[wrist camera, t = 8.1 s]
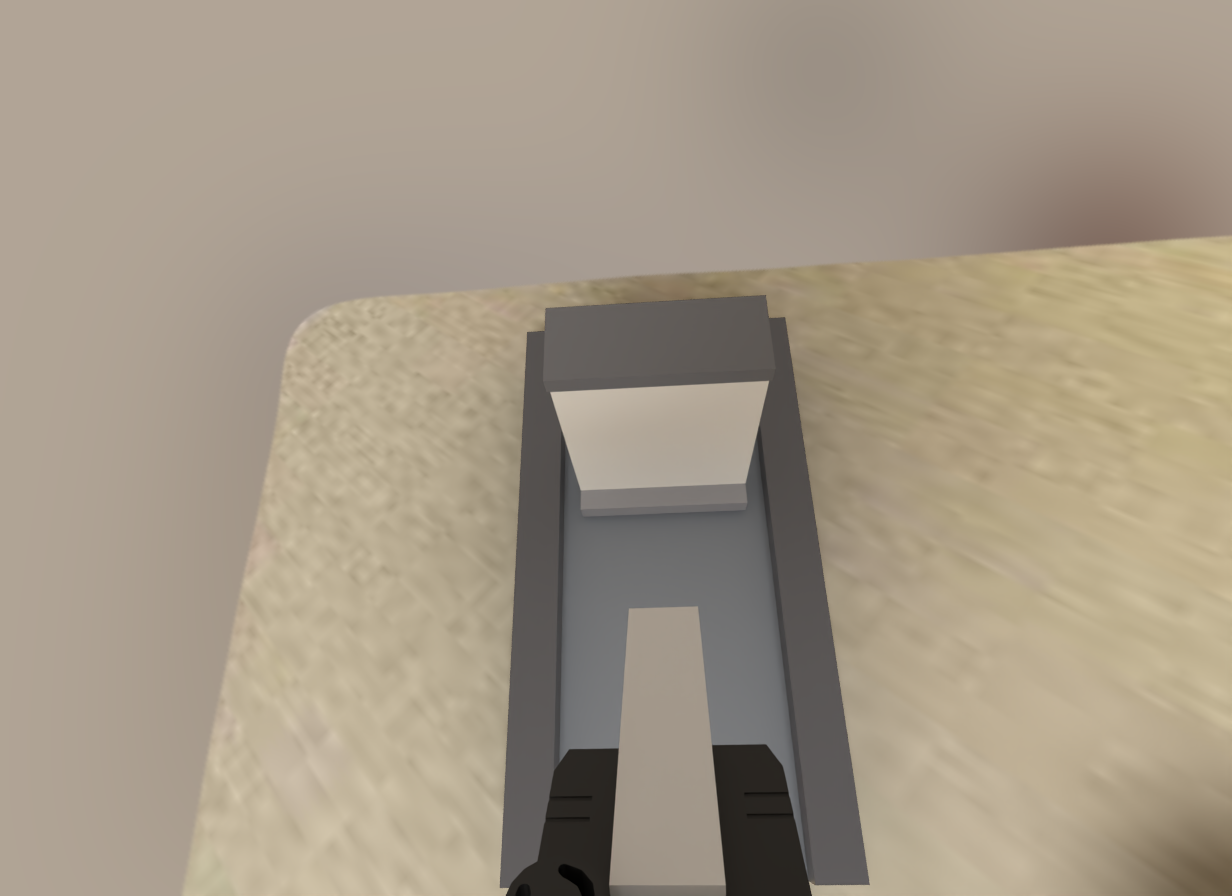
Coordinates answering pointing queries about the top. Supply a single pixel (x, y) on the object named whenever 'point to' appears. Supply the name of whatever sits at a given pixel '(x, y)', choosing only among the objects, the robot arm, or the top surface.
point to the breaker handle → (660, 400)
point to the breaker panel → (678, 577)
